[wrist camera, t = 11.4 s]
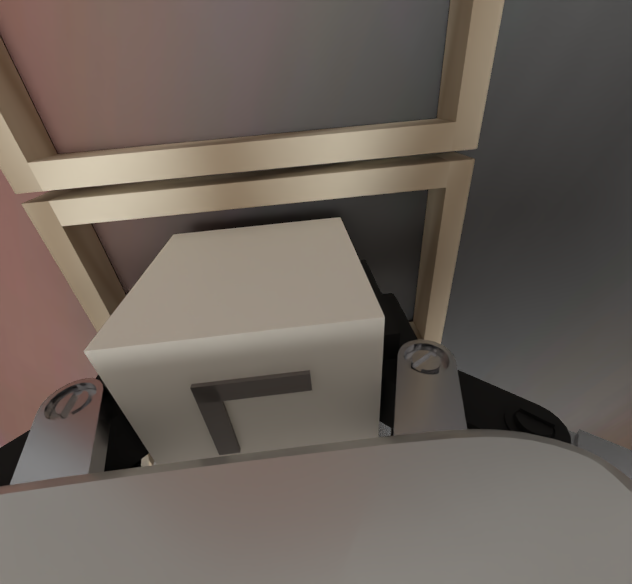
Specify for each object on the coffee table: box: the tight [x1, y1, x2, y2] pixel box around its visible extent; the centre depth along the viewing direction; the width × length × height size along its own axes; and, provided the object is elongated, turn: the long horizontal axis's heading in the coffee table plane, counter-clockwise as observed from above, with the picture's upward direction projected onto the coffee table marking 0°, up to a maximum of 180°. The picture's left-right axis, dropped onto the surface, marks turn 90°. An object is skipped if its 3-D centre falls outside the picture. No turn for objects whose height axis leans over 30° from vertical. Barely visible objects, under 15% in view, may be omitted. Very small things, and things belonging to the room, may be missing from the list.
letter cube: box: [84, 217, 385, 465], centre depth 10 cm, size 6×6×6 cm
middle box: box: [22, 152, 475, 344], centre depth 13 cm, size 14×8×1 cm, turn 94°
